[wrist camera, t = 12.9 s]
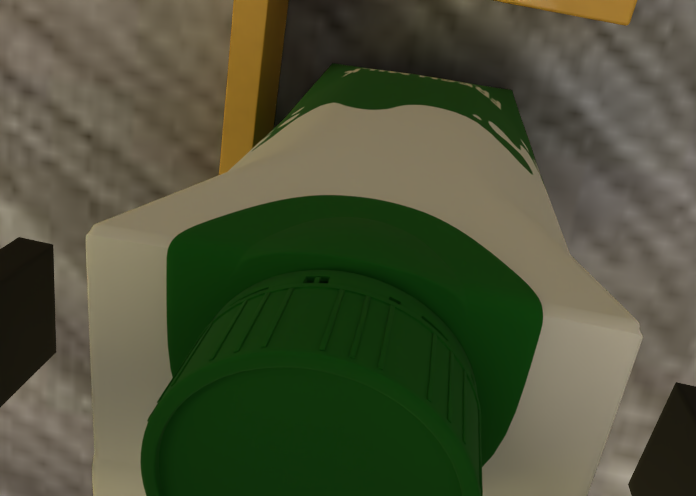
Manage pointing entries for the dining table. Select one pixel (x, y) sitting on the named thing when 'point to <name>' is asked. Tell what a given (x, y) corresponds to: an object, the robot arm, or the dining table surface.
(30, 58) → the dining table surface
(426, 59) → the dining table surface
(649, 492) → the robot arm
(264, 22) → the frame
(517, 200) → the soya milk
